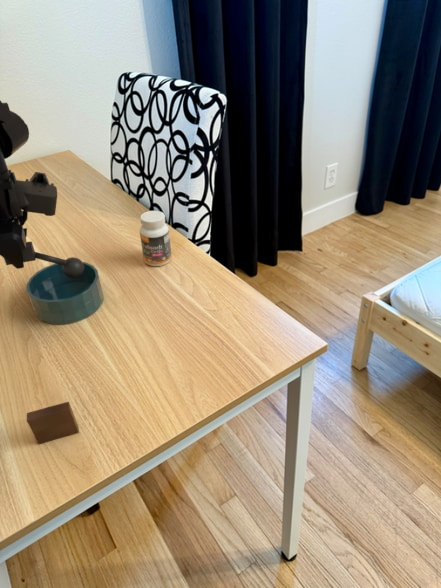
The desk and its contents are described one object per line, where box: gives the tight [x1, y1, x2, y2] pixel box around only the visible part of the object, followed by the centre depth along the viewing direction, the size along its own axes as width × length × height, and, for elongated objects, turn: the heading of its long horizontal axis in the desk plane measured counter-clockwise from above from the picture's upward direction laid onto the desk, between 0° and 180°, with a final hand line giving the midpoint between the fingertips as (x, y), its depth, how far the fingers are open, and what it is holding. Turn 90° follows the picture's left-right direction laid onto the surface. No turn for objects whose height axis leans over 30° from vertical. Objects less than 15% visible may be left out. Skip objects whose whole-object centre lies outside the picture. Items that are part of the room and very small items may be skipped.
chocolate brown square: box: [26, 401, 80, 445], centre depth 54 cm, size 5×1×5 cm, turn 109°
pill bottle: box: [139, 210, 172, 267], centre depth 85 cm, size 6×6×10 cm
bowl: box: [25, 261, 104, 325], centre depth 76 cm, size 12×12×5 cm
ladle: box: [3, 241, 84, 278], centre depth 71 cm, size 12×4×8 cm, turn 109°
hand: (20, 264), depth 70 cm, fingers closed on ladle, 2 cm apart
